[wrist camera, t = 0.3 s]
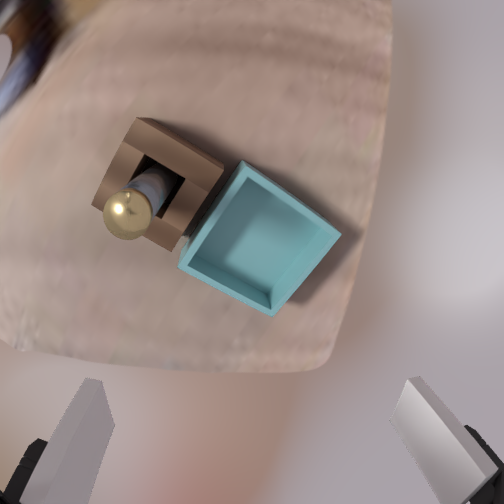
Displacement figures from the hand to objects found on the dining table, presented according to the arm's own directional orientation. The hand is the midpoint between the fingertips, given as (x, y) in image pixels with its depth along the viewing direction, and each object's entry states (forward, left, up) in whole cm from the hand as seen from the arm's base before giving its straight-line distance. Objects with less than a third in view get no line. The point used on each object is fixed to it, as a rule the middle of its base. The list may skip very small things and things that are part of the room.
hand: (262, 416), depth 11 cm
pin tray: (+1, +4, -26) cm, 26 cm away
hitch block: (+1, -9, -26) cm, 28 cm away
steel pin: (+1, -9, -26) cm, 28 cm away
